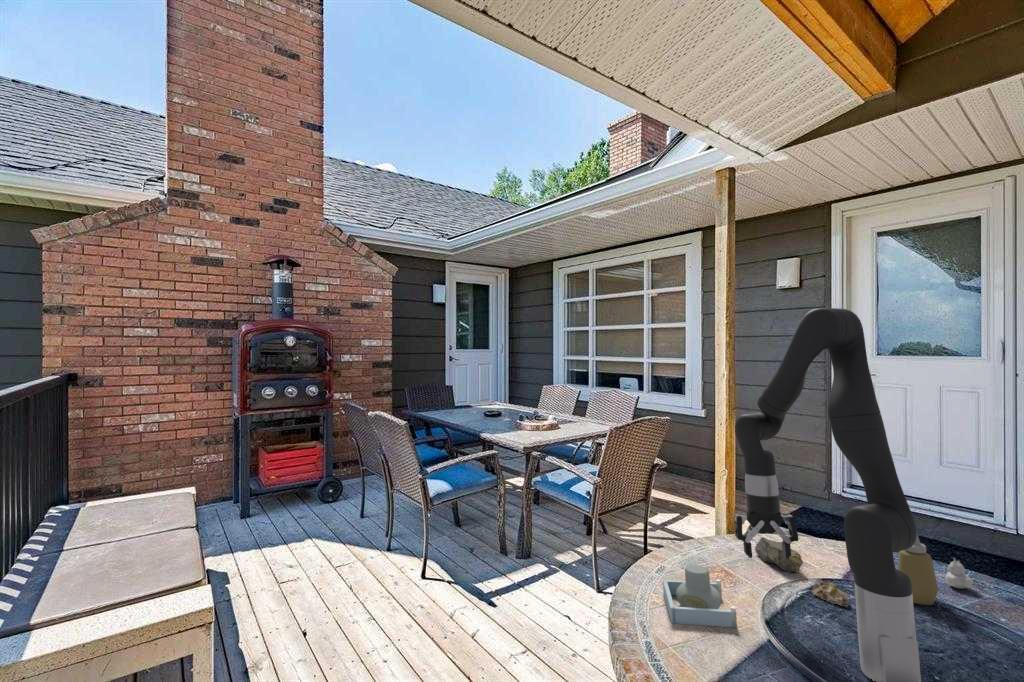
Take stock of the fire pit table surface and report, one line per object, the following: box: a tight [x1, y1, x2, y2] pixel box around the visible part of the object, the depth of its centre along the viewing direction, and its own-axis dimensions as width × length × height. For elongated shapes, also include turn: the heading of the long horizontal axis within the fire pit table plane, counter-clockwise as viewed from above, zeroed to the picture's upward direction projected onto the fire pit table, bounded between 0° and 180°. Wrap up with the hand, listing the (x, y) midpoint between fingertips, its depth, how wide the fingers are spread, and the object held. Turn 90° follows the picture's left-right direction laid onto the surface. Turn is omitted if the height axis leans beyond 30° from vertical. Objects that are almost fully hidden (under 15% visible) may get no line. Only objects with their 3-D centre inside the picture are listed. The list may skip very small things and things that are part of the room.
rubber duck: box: [945, 557, 974, 590], centre depth 129 cm, size 5×7×8 cm
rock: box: [754, 536, 804, 573], centre depth 148 cm, size 17×7×10 cm
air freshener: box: [675, 564, 722, 609], centre depth 122 cm, size 11×8×10 cm
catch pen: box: [662, 578, 738, 629], centre depth 122 cm, size 16×15×4 cm
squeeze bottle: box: [897, 534, 939, 606], centre depth 123 cm, size 8×8×18 cm
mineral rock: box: [811, 580, 851, 606], centre depth 126 cm, size 11×4×8 cm
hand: (767, 557), depth 119 cm, fingers open, 8 cm apart
